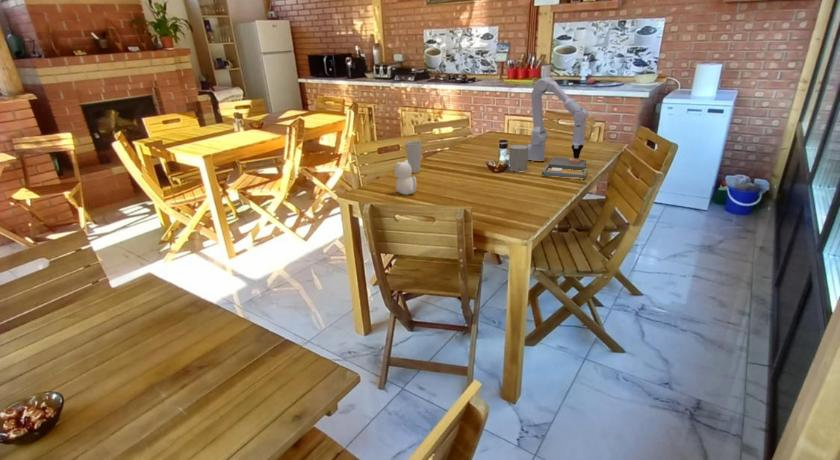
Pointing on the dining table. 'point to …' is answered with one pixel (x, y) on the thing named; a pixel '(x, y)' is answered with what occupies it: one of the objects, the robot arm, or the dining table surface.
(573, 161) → the terracotta tile
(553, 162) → the plate
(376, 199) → the dining table surface
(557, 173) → the tray
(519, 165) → the grey canister
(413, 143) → the cup
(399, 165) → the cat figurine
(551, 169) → the cream tile
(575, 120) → the robot arm
